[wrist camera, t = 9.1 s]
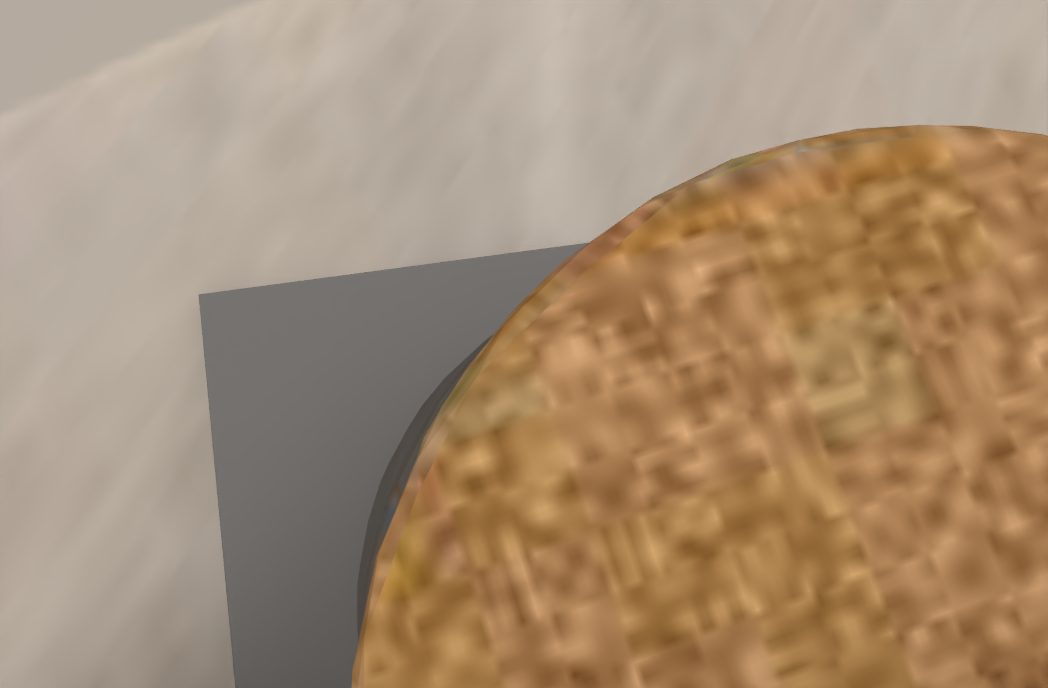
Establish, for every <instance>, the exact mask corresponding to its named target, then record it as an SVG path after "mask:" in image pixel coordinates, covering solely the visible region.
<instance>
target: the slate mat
mask: <svg viewBox="0 0 1048 688" xmlns="http://www.w3.org/2000/svg"><path fill="white" fill-rule="evenodd" d="M587 244H588V243H584V244H576V245H569V246H561V247H554V248H546V249H539V250H531V251H523V252H516V253H508V254H501V255H493V256H486V257H478V258H471V259H463V260H456V261H448V262H441V263H433V264H426V265H418V266H411V267H403V268H395V269H388V270H380V271H373V272H365V273H358V274H350V275H343V276H335V277H328V278H320V279H313V280H305V281H298V282H290V283H283V284H275V285H267V286H260V287H252V288H245V289H237V290H230V291H222V292H215V293H207V294H200V295H199V303H200V313H201V324H202V335H203V345H204V356H205V367H206V377H207V388H208V399H209V409H210V420H211V431H212V441H213V452H214V463H215V473H216V484H217V495H218V505H219V516H220V527H221V537H222V548H223V559H224V569H225V580H226V591H227V601H228V612H229V623H230V633H231V644H232V654H233V665H234V676H235V686H236V688H351V687H352V669H353V664H354V660H355V655H356V650H357V646H358V630H357V584H358V576H359V568H360V562H361V557H362V551H363V546H364V541H365V535H366V530H367V525H368V520H369V517H370V514H371V510H372V507H373V504H374V501H375V497H376V494H377V491H378V488H379V484H380V482H381V480H382V477H383V475H384V473H385V470H386V468H387V466H388V464H389V462H390V460H391V458H392V456H393V454H394V453H395V451H396V449H397V447H398V445H399V443H400V442H401V440H402V438H403V436H404V434H405V432H406V431H407V429H408V427H409V425H410V424H411V422H412V421H413V419H414V417H415V416H416V414H417V413H418V411H419V410H420V408H421V407H422V405H423V404H424V402H425V401H426V400H427V399H428V398H429V396H430V395H431V394H432V393H433V392H434V390H435V389H436V388H437V387H438V386H439V384H440V383H441V382H442V381H443V380H444V378H445V377H446V376H447V375H448V374H449V373H451V372H452V371H453V370H454V369H455V368H456V367H457V366H458V365H459V364H460V363H461V362H462V361H464V360H465V359H466V358H467V357H468V356H469V355H470V354H471V353H472V352H473V351H474V350H475V349H476V348H478V347H479V346H480V345H481V344H482V343H483V342H484V341H485V340H486V339H488V338H489V337H491V336H492V335H494V333H495V332H496V331H497V330H498V328H499V327H500V326H501V325H502V323H503V322H504V321H505V320H506V318H507V317H508V316H509V315H510V313H511V312H512V311H513V310H514V309H515V308H516V307H517V306H518V305H519V304H520V303H521V302H522V301H523V300H524V299H525V298H526V297H527V296H528V295H529V294H530V293H531V292H532V291H533V290H534V289H535V288H536V287H537V286H538V285H539V284H540V283H541V282H542V281H543V280H544V279H545V278H546V277H547V276H548V275H549V274H550V273H551V272H552V271H553V270H554V269H555V268H556V267H557V266H558V265H559V264H560V263H562V262H563V261H564V260H566V259H567V258H569V257H570V256H572V255H573V254H574V253H576V252H577V251H579V250H580V249H581V248H583V247H584V246H586V245H587Z"/></svg>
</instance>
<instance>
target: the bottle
mask: <svg viewBox="0 0 1048 688" xmlns="http://www.w3.org/2000/svg"><path fill="white" fill-rule="evenodd" d="M357 630H358V646H357V650H356V655H355V660H354V664H353V669H352V687H351V688H1048V136H1046V135H1042V134H1034V133H1026V132H1017V131H1009V130H1000V129H992V128H983V127H975V126H932V125H916V126H899V127H882V128H865V129H855V130H850V131H844V132H839V133H834V134H829V135H824V136H819V137H814V138H808V139H803V140H798V141H795V142H791V143H788V144H784V145H781V146H777V147H774V148H770V149H767V150H763V151H760V152H756V153H753V154H749V155H746V156H742V157H739V158H735V159H731V160H729V161H727V162H725V163H723V164H721V165H719V166H717V167H715V168H713V169H711V170H709V171H707V172H705V173H703V174H701V175H699V176H696V177H694V178H692V179H690V180H688V181H686V182H684V183H682V184H680V185H678V186H676V187H674V188H672V189H670V190H668V191H666V192H664V193H662V194H660V195H657V196H655V197H653V198H652V199H651V200H649V201H648V202H646V203H645V204H644V205H642V206H641V207H639V208H638V209H637V210H635V211H634V212H632V213H631V214H629V215H628V216H627V217H625V218H624V219H622V220H621V221H620V222H618V223H617V224H615V225H614V226H613V227H611V228H610V229H608V230H607V231H605V232H604V233H603V234H601V235H600V236H598V237H597V238H596V239H594V240H593V241H591V242H590V243H588V244H587V245H586V246H584V247H583V248H581V249H580V250H579V251H577V252H576V253H574V254H573V255H572V256H570V257H569V258H567V259H566V260H564V261H563V262H562V263H560V264H559V265H558V266H557V267H556V268H555V269H554V270H553V271H552V272H551V273H550V274H549V275H548V276H547V277H546V278H545V279H544V280H543V281H542V282H541V283H540V284H539V285H538V286H537V287H536V288H535V289H534V290H533V291H532V292H531V293H530V294H529V295H528V296H527V297H526V298H525V299H524V300H523V301H522V302H521V303H520V304H519V305H518V306H517V307H516V308H515V309H514V310H513V311H512V312H511V313H510V315H509V316H508V317H507V318H506V320H505V321H504V322H503V323H502V325H501V326H500V327H499V328H498V330H497V331H496V332H495V333H494V335H492V336H491V337H489V338H488V339H486V340H485V341H484V342H483V343H482V344H481V345H480V346H479V347H478V348H476V349H475V350H474V351H473V352H472V353H471V354H470V355H469V356H468V357H467V358H466V359H465V360H464V361H462V362H461V363H460V364H459V365H458V366H457V367H456V368H455V369H454V370H453V371H452V372H451V373H449V374H448V375H447V376H446V377H445V378H444V380H443V381H442V382H441V383H440V384H439V386H438V387H437V388H436V389H435V390H434V392H433V393H432V394H431V395H430V396H429V398H428V399H427V400H426V401H425V402H424V404H423V405H422V407H421V408H420V410H419V411H418V413H417V414H416V416H415V417H414V419H413V421H412V422H411V424H410V425H409V427H408V429H407V431H406V432H405V434H404V436H403V438H402V440H401V442H400V443H399V445H398V447H397V449H396V451H395V453H394V454H393V456H392V458H391V460H390V462H389V464H388V466H387V468H386V470H385V473H384V475H383V477H382V480H381V482H380V484H379V488H378V491H377V494H376V497H375V501H374V504H373V507H372V510H371V514H370V517H369V520H368V525H367V530H366V535H365V541H364V546H363V551H362V557H361V562H360V568H359V576H358V584H357Z"/></svg>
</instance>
